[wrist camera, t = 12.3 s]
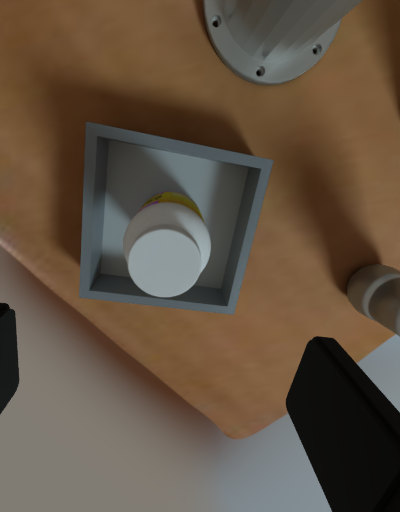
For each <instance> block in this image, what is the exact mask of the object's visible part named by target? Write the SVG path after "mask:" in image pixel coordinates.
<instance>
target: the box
mask: <svg viewBox="0 0 400 512" xmlns="http://www.w3.org/2000/svg"><path fill="white" fill-rule="evenodd" d="M272 164H273V160H270V159H266V158H261V157H256V156H251V155H246V154H241V153H237V152H232V151H227V150H222V149H217V148H212V147H208V146H203V145H198V144H193V143H188V142H183V141H179V140H174V139H169V138H164V137H159V136H154V135H150V134H145V133H140V132H135V131H130V130H125V129H121V128H116V127H111V126H106V125H101V124H96V123H92V122H87V121H86V133H85V160H84V186H83V212H82V238H81V265H80V291H79V297H80V298H89V299H98V300H106V301H115V302H124V303H133V304H142V305H151V306H160V307H169V308H178V309H187V310H196V311H205V312H214V313H223V314H232V315H234V312H235V308H236V304H237V300H238V296H239V292H240V288H241V284H242V281H243V277H244V273H245V269H246V265H247V261H248V257H249V253H250V249H251V246H252V242H253V238H254V234H255V230H256V226H257V222H258V218H259V215H260V211H261V207H262V203H263V199H264V195H265V191H266V187H267V184H268V180H269V176H270V172H271V168H272ZM163 191H177V192H181V193H183V194H185V195H187V196H189V197H190V198H191V199H192V200H193V201H194V202H195V203H196V204H197V206H198V208H199V210H200V212H201V214H202V217H203V219H204V222H205V224H206V227H207V229H208V232H209V235H210V240H211V252H210V257H209V260H208V262H207V264H206V266H205V268H204V269H203V271H202V272H201V273H200V275H199V277H198V279H197V281H196V282H195V284H194V285H193V286H192V287H191V288H190V289H188V290H187V291H186V292H184V293H182V294H180V295H177V296H173V297H157V296H153V295H151V294H148V293H146V292H144V291H143V290H142V289H140V288H139V287H138V286H137V285H136V284H135V283H134V281H133V280H132V278H131V276H130V274H129V270H128V264H127V262H126V259H125V256H124V251H123V238H124V234H125V231H126V228H127V226H128V224H129V223H130V221H131V220H132V219H133V217H134V216H135V215H136V214H137V212H138V211H139V210H140V209H141V207H142V206H143V205H144V204H145V203H146V201H147V200H148V199H149V198H151V197H152V196H153V195H155V194H157V193H160V192H163Z"/></svg>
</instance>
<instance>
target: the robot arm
mask: <svg viewBox="0 0 400 512" xmlns="http://www.w3.org/2000/svg"><path fill="white" fill-rule="evenodd" d="M361 1H362V0H203V12H204V19H205V25H206V28H207V32H208V35H209V38H210V41H211V43H212V45H213V47H214V49H215V51H216V53H217V55H218V56H219V57H220V59H221V60H222V61H223V63H224V64H225V65H226V66H227V67H228V68H229V69H230V70H231V71H232V72H233V73H235V74H236V75H237V76H239V77H241V78H243V79H244V80H246V81H249V82H252V83H255V84H258V85H277V84H283V83H285V82H288V81H291V80H293V79H295V78H297V77H298V76H300V75H302V74H303V73H305V72H306V71H307V70H308V69H310V68H311V67H312V66H314V65H315V64H316V63H317V62H318V61H319V59H320V58H321V57H322V56H323V55H324V54H325V52H326V51H327V49H328V47H329V46H330V44H331V43H332V41H333V39H334V37H335V35H336V33H337V30H338V28H339V26H340V23H341V19H342V18H343V17H344V16H345V15H346V14H347V13H348V12H349V11H351V10H352V9H353V8H354V7H355V6H356V5H358V4H359V3H360V2H361ZM213 23H216V24H217V25H218V27H214V26H213ZM313 51H314V52H315V53H313ZM257 71H258V72H259V73H260V76H257V74H256V72H257ZM18 384H19V368H18V351H17V335H16V318H15V311H14V310H13V309H10V307H9V305H8V304H6V303H0V414H1V413H2V411H3V410H4V408H5V407H6V405H7V404H8V402H9V401H10V400H11V398H12V397H13V395H14V393H15V392H16V390H17V387H18ZM286 408H287V411H288V413H289V415H290V418H291V420H292V422H293V424H294V427H295V429H296V431H297V433H298V435H299V438H300V440H301V442H302V444H303V447H304V449H305V451H306V454H307V456H308V458H309V460H310V462H311V465H312V467H313V469H314V472H315V474H316V476H317V478H318V481H319V483H320V485H321V487H322V489H323V492H324V494H325V496H326V499H327V501H328V503H329V505H330V508H331V510H332V512H400V412H399V411H398V410H397V409H396V408H395V407H394V406H393V404H392V403H391V402H390V401H389V400H388V399H387V398H386V397H385V395H384V394H383V393H382V392H381V391H380V390H379V389H378V387H377V386H376V385H375V384H374V383H373V382H372V381H371V380H370V378H369V377H368V376H367V375H366V374H365V373H364V372H363V371H362V369H361V368H360V367H359V366H358V365H357V364H356V363H355V361H354V360H353V359H352V358H351V357H350V356H349V355H348V354H347V352H346V351H345V350H344V349H343V348H342V347H341V346H340V345H339V343H338V342H337V341H336V340H335V339H333V338H328V337H319V336H316V337H314V338H313V339H312V340H310V341H309V342H308V344H307V346H306V349H305V351H304V354H303V356H302V359H301V361H300V364H299V367H298V369H297V372H296V374H295V377H294V380H293V382H292V385H291V387H290V390H289V392H288V395H287V398H286Z"/></svg>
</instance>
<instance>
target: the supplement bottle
mask: <svg viewBox="0 0 400 512" xmlns="http://www.w3.org/2000/svg"><path fill="white" fill-rule="evenodd" d="M123 251H124V256H125V259H126V262H127V264H128V270H129V274H130V276H131V278H132V280H133V281H134V283H135V284H136V285H137V286H138V287H139V288H140V289H142V290H143V291H144V292H146V293H148V294H151V295H153V296H157V297H173V296H177V295H180V294H182V293H184V292H186V291H187V290H188V289H190V288H191V287H192V286H193V285H194V284H195V282H196V281H197V279H198V277H199V275H200V273H201V272H202V271H203V269H204V268H205V266H206V264H207V262H208V260H209V257H210V252H211V240H210V235H209V232H208V229H207V227H206V224H205V222H204V219H203V217H202V214H201V212H200V210H199V208H198V206H197V204H196V203H195V202H194V201H193V200H192V199H191V198H190V197H189V196H187V195H185V194H183V193H181V192H177V191H163V192H160V193H157V194H155V195H153V196H152V197H151V198H149V199H148V200H147V201H146V203H145V204H144V205H143V206H142V207H141V209H140V210H139V211H138V212H137V214H136V215H135V216H134V217H133V219H132V220H131V221H130V223H129V224H128V226H127V228H126V231H125V234H124V238H123Z"/></svg>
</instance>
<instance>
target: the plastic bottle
mask: <svg viewBox="0 0 400 512" xmlns="http://www.w3.org/2000/svg"><path fill="white" fill-rule="evenodd" d="M347 297H348V300H349V302H350V303H351V304H352V305H353V307H354V308H355V309H356V310H357V311H358V312H359V313H361V314H362V315H364V316H366V317H368V318H370V319H372V320H374V321H377V322H378V323H380V324H381V325H383V326H384V327H386V328H388V329H389V330H391V331H392V332H394V333H395V334H397V335H399V336H400V271H398V270H397V269H395V268H393V267H389V266H385V265H381V264H374V265H369V266H366V267H363V268H361V269H359V270H358V271H357V272H355V273H354V274H353V276H352V277H351V278H350V280H349V282H348V285H347Z"/></svg>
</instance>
